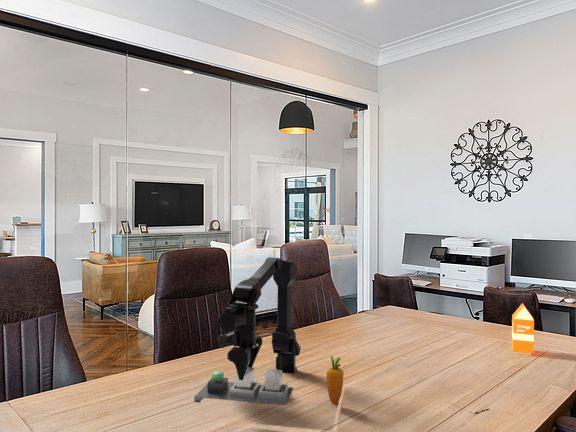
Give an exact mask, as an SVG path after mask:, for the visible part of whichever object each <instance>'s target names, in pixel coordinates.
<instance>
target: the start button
mask: <svg viewBox="0 0 576 432" xmlns="http://www.w3.org/2000/svg"><path fill="white" fill-rule="evenodd" d="M211 374H212V375H211V378H212V379H214V380H220V379H223V378H225V373H224V372H223V371H221V370H217V371H213V372H212V373H211Z"/></svg>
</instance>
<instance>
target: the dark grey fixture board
mask: <svg viewBox="0 0 576 432" xmlns="http://www.w3.org/2000/svg"><path fill="white" fill-rule="evenodd" d="M293 390H294V387H292V386H289V384H283V383H282V392H269V391H265V382H264V383H263V384H261V381H254V388H253V390H246V389H237V380H236V381H235V382H230V381H229V378H228V377H224V378H223V379H220V380H214V379H212V377H211V378H210V379H209V380H207V383H206V384H205V386H203V387H202V389H200V390H199V392H197V393H196V395H194V397H193V401H195V402H201V401H202V400H203V399H211V400H212V399H214V400H222V401H223V400H224V401H226V400H227V401H233V402H234V401H235V402H245V403H247V402H248V403H256V404H257V403H258V404H267V405H277V406H278V405H280V406H286V405H287V402H288V400H289V398H290V396H291V395H292V393H293Z"/></svg>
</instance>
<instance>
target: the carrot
mask: <svg viewBox="0 0 576 432" xmlns="http://www.w3.org/2000/svg"><path fill="white" fill-rule="evenodd" d="M330 360H331V366H332V367H329V368H328V369H327V371H326V387H327V395H328V397H329V400H330V402H331V404H334V405H337V404H338V403H339V401H340V398H341V396H342V392H343V386H344V373H345V372H344V370H343V369H342V368H340V366H342V364H341V363H339V362H340V361H341V357H339V356H337V357H336V360H335V358H334V357H333V355H332V356H330Z"/></svg>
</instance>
